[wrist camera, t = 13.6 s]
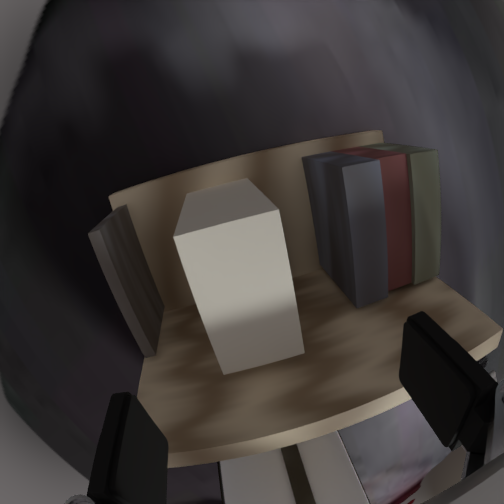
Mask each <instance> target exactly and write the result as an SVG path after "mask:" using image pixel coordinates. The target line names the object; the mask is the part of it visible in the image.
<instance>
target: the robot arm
mask: <svg viewBox="0 0 504 504" xmlns="http://www.w3.org/2000/svg"><path fill="white" fill-rule="evenodd" d="M495 376H496V373H495V371H494V370H492V371H491V372H489V373H488V372H487V371H486V370H485V369H484V368H483V367H482V366H481V365H480V364H479V363H478V362H477V361H476V360H475V359H474V358H473V357H472V356H471V355H470V354H469V353H468V352H467V351H466V350H465V349H464V348H463V347H462V346H461V345H460V344H459V343H458V342H457V341H456V340H454V339H453V338H452V337H451V336H450V335H449V334H448V333H447V332H446V331H445V330H443V329H442V328H441V327H440V326H439V325H438V324H437V323H436V322H435V321H434V320H433V319H432V318H431V317H430V316H429V315H427V314H426V313H425V312H424V311H420V312H418V313H416V314H413V315H411V316H409V317H408V318H407V321H406V322H405V323H404V325H403V337H402V349H401V359H400V368H399V380H400V382H401V384H402V386H403V387H404V388H405V390H406V391H407V393H408V394H409V396H410V397H411V398H412V400H413V401H414V403H415V404H416V406H417V407H418V409H419V410H420V411H421V413H422V414H423V416H424V417H425V419H426V420H427V422H428V423H429V425H430V426H431V428H432V429H433V431H434V432H435V434H436V435H437V437H438V438H439V440H440V441H441V443H442V444H443V445H444V446H445V447H448V446H449V448H450V449H451V451H454V450H455V449H457V448H458V447H460V446H461V445H462V447H463V448H464V450H465V451H466V458H465V464H464V468H463V473H462V477H461V481H460V482H458V483H457V484H455V485H454V486H452V487H450V488H449V489H447V490H445V491H443V492H441V493H440V494H438V495H436V496H434V497H433V498H431V499H429V500H427V501H425V502H424V503H421V504H504V379H503V380H502V381H501V382H500V383H499V384H498V383H497V379H496V377H495ZM168 450H169V445H168V441H167V438H166V437H165V436H164V434H163V433H162V432H161V430H160V429H159V428H158V426H157V425H156V424H155V422H154V421H153V420H152V418H151V417H150V416H149V414H148V413H147V411H146V410H145V409H144V407H143V406H142V404H141V403H140V401H139V400H138V399H137V397H136V396H135V395H131V394H130V393H129V392H123V393H115V394H113V395H112V396H111V399H110V403H109V406H108V410H107V414H106V417H105V421H104V425H103V429H102V432H101V435H100V438H99V442H98V446H97V450H96V455H95V459H94V463H93V468H92V472H91V477H90V482H89V487H88V492H87V496H85V495H74V496H72V497H70V498H69V499H68V500H66V502H65V503H64V504H166V494H167V468H168Z"/></svg>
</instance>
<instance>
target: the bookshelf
mask: <svg viewBox="0 0 504 504" xmlns="http://www.w3.org/2000/svg"><path fill="white" fill-rule="evenodd" d="M245 178H248V179H249V180H250V181H251V182H252V183H253V184H254V185H255V186H256V187H257V188H258V189H259V190H260V191H261V192H262V193H263V194H264V195H265V196H266V197H267V198H268V199H269V200H270V201H271V202H272V203H273V204H274V205H275V206H276V207H277V208H278V209H279V212H280V217H281V222H282V227H283V233H284V238H285V243H286V248H287V253H288V259H289V264H290V270H291V275H292V281H293V286H294V292H295V298H296V303H297V309H298V315H299V321H300V327H301V333H302V339H303V345H304V351H305V353H304V354H300V355H297V356H294V357H290V358H287V359H283V360H280V361H276V362H273V363H269V364H265V365H262V366H258V367H254V368H250V369H246V370H242V371H238V372H234V373H230V374H225V375H223V372H222V370H221V367H220V365H219V362H218V360H217V357H216V355H215V352H214V350H213V347H212V345H211V342H210V339H209V337H208V334H207V332H206V329H205V326H204V324H203V321H202V318H201V316H200V313H199V310H198V308H197V305H196V302H195V299H194V297H193V294H192V291H191V288H190V285H189V282H188V280H187V277H186V274H185V271H184V268H183V265H182V262H181V259H180V256H179V253H178V250H177V247H176V244H175V241H174V238H173V236H174V233H175V230H176V226H177V223H178V220H179V217H180V213H181V210H182V207H183V204H184V201H185V198H186V195H187V193H191V192H194V191H198V190H202V189H206V188H209V187H213V186H217V185H221V184H225V183H229V182H233V181H237V180H241V179H245ZM109 200H110V203H111V206H112V209H113V211H112V212H111V213H110V214H109V215H108V216H107V217H106V218H104V219H103V220H102V221H101V222H100V223H99V224H98V225H97V226H95V227H94V228H93V229H92V230H91V231H90V232H89V233H88V236H89V238H90V241H91V244H92V246H93V249H94V251H95V254H96V256H97V259H98V261H99V264H100V266H101V268H102V271H103V273H104V275H105V278H106V280H107V282H108V284H109V287H110V289H111V291H112V293H113V295H114V298H115V300H116V302H117V304H118V306H119V308H120V310H121V312H122V314H123V316H124V318H125V320H126V322H127V324H128V326H129V328H130V330H131V332H132V334H133V336H134V338H135V340H136V342H137V344H138V345H139V347H140V349H141V351H142V353H143V355H144V356H145V358H144V363H143V368H142V373H141V378H140V383H139V389H138V395H137V399H138V400H139V401H140V403H141V404H142V406H143V407H144V409H145V410H146V411H147V413H148V414H149V416H150V417H151V418H152V420H153V421H154V422H155V424H156V425H157V426H158V428H159V429H160V430H161V432H162V433H163V434H164V436H165V437H166V438H167V441H168V445H169V450H168V468H172V467H182V466H190V465H198V464H205V463H212V462H218V461H224V460H229V459H235V458H240V457H245V456H249V455H254V454H258V453H263V452H267V451H271V450H275V449H279V448H283V447H286V446H290V445H293V444H297V443H300V442H304V441H307V440H310V439H313V438H316V437H320V436H323V435H326V434H328V433H331V432H334V431H337V430H340V429H343V428H345V427H348V426H351V425H353V424H356V423H358V422H361V421H363V420H366V419H368V418H371V417H373V416H375V415H378V414H380V413H382V412H384V411H387V410H389V409H391V408H393V407H395V406H398V405H400V404H402V403H404V402H406V401H408V400H410V399H412V398H411V397H410V396H409V394H408V393H407V391H406V390H405V388H404V387H403V386H402V384H401V382H400V380H399V368H400V359H401V349H402V337H403V325H404V323H405V322H406V321H407V318H408V317H409V316H411V315H413V314H416V313H418V312H420V311H424V312H425V313H426V314H427V315H429V316H430V317H431V318H432V319H433V320H434V321H435V322H436V323H437V324H438V325H439V326H440V327H441V328H442V329H443V330H445V331H446V332H447V333H448V334H449V335H450V336H451V337H452V338H453V339H454V340H456V341H457V342H458V343H459V344H460V345H461V346H462V347H463V348H464V349H465V350H466V351H467V352H468V353H469V354H470V355H471V356H472V357H473V358H474V359H475V360H476V361H478V360H479V359H481V358H482V357H484V356H485V355H487V354H488V353H490V352H491V351H493V350H494V349H495V348H497V347H498V344H499V341H500V337H501V334H502V331H503V328H501V327H500V326H499V325H498V324H497V323H495V322H494V321H493V320H492V319H491V318H489V317H488V316H487V315H486V314H484V313H483V312H482V311H481V310H479V309H478V308H477V307H476V306H474V305H473V304H472V303H470V302H469V301H468V300H467V299H465V298H464V297H463V296H461V295H460V294H459V293H457V292H456V291H455V290H453V289H452V288H451V287H449V286H448V285H447V284H445V283H444V282H443V281H441V280H440V279H439V278H437V277H436V276H438V275H439V268H440V250H441V192H440V173H439V160H438V150H435V149H428V148H422V147H414V146H407V145H399V144H390V143H384V139H383V133H382V131H380V130H371V131H364V132H357V133H351V134H344V135H338V136H332V137H326V138H320V139H315V140H309V141H304V142H299V143H294V144H289V145H284V146H279V147H275V148H270V149H266V150H261V151H257V152H252V153H248V154H244V155H240V156H236V157H232V158H228V159H224V160H220V161H216V162H212V163H209V164H205V165H201V166H198V167H194V168H191V169H187V170H184V171H180V172H177V173H173V174H170V175H167V176H164V177H160V178H157V179H154V180H151V181H148V182H145V183H142V184H139V185H136V186H133V187H130V188H127V189H124V190H121V191H118V192H115V193H113V194H112V195H110V196H109Z"/></svg>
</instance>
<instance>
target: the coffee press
mask: <svg viewBox="0 0 504 504" xmlns="http://www.w3.org/2000/svg"><path fill="white" fill-rule="evenodd" d="M217 463H218V472H219V481H220V490H221V498H222V504H370V501H369V499H368V497H367V495H366V492H365V490H364V488H363V486H362V483H361V481H360V479H359V477H358V474H357V472H356V470H355V467H354V465H353V463H352V461H351V458H350V456H349V454H348V452H347V449H346V447H345V445H344V443H343V440H342V438H341V436H340V434H339V431H338V430H337V431H334V432H331V433H328V434H326V435H323V436H320V437H316V438H313V439H310V440H307V441H304V442H300V443H297V444H293V445H290V446H286V447H283V448H279V449H275V450H271V451H267V452H263V453H258V454H254V455H249V456H245V457H240V458H235V459H229V460H224V461H218V462H217ZM221 474H222V475H221ZM222 483H223V484H222ZM223 491H224V492H223Z"/></svg>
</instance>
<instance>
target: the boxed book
mask: <svg viewBox="0 0 504 504" xmlns="http://www.w3.org/2000/svg"><path fill="white" fill-rule="evenodd" d="M173 238H174V241H175V244H176V247H177V250H178V253H179V256H180V259H181V262H182V265H183V268H184V271H185V274H186V277H187V280H188V282H189V285H190V288H191V291H192V294H193V297H194V299H195V302H196V305H197V308H198V310H199V313H200V316H201V318H202V321H203V324H204V326H205V329H206V332H207V334H208V337H209V339H210V342H211V345H212V347H213V350H214V352H215V355H216V357H217V360H218V362H219V365H220V367H221V370H222V372H223V375H225V374H230V373H234V372H238V371H242V370H246V369H250V368H254V367H258V366H262V365H265V364H269V363H273V362H276V361H280V360H283V359H287V358H290V357H294V356H297V355H300V354H304V353H305V351H304V345H303V339H302V333H301V327H300V321H299V315H298V309H297V303H296V298H295V292H294V286H293V281H292V275H291V270H290V264H289V259H288V253H287V248H286V243H285V238H284V233H283V227H282V222H281V217H280V212H279V209H278V208H277V207H276V206H275V205H274V204H273V203H272V202H271V201H270V200H269V199H268V198H267V197H266V196H265V195H264V194H263V193H262V192H261V191H260V190H259V189H258V188H257V187H256V186H255V185H254V184H253V183H252V182H251V181H250V180H249V179H248V178H245V179H241V180H237V181H233V182H229V183H225V184H221V185H217V186H213V187H209V188H206V189H202V190H198V191H194V192H191V193H187V195H186V198H185V201H184V204H183V207H182V210H181V213H180V217H179V220H178V223H177V226H176V230H175V233H174V236H173Z"/></svg>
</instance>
